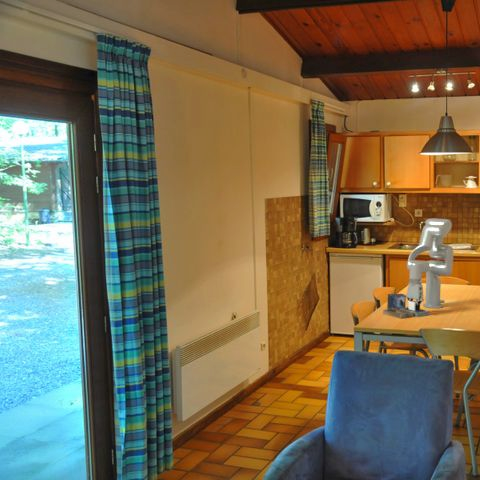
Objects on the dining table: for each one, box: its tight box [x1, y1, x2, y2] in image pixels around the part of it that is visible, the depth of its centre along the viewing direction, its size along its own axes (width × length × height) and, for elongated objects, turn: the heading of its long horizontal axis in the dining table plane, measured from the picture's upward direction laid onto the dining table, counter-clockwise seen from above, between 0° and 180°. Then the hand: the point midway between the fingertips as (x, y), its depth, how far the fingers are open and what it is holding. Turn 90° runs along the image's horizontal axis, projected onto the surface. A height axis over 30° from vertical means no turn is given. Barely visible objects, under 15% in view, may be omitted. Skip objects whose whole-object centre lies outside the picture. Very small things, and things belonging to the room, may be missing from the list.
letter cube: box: [408, 300, 416, 311], centre depth 453 cm, size 5×5×5 cm
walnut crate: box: [382, 308, 414, 320], centre depth 449 cm, size 11×16×3 cm
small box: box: [386, 293, 407, 310], centre depth 466 cm, size 11×6×10 cm, turn 101°
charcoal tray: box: [401, 307, 430, 318], centre depth 453 cm, size 11×15×3 cm
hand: (414, 309), depth 453 cm, fingers closed on letter cube, 4 cm apart
